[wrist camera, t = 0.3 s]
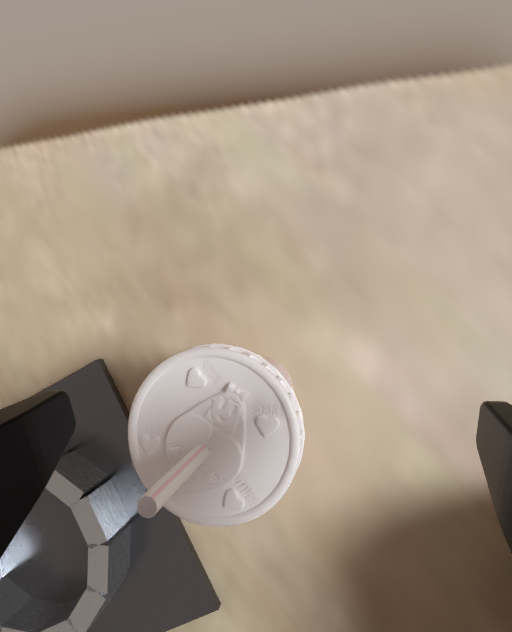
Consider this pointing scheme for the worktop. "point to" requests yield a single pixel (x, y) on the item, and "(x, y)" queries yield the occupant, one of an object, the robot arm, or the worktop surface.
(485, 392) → the worktop surface
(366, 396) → the worktop surface
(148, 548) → the duct collar
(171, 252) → the worktop surface
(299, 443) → the smoothie
